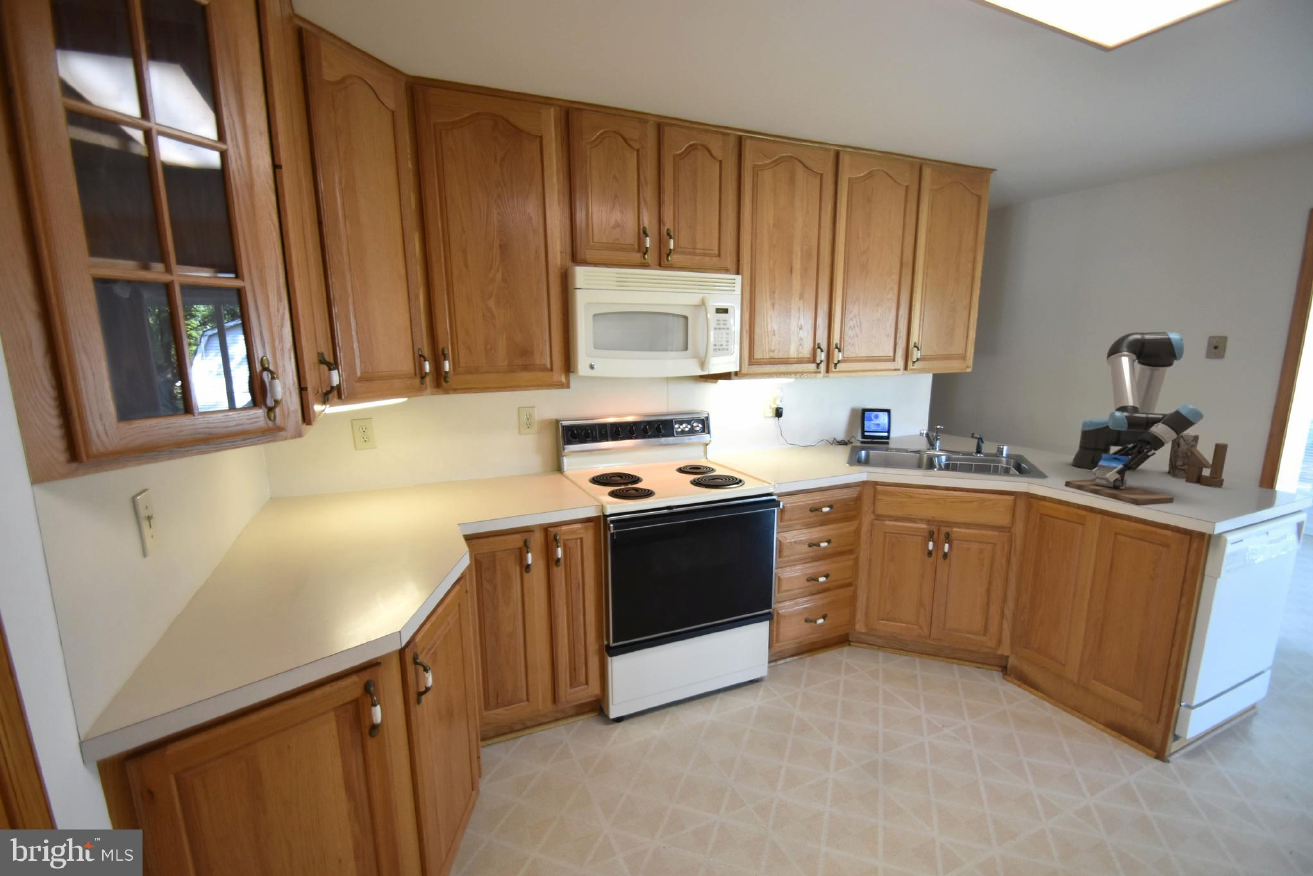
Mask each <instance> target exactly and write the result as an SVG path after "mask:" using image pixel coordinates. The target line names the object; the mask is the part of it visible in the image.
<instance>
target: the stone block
mask: <svg viewBox="0 0 1313 876" xmlns="http://www.w3.org/2000/svg"><path fill="white" fill-rule="evenodd" d="M1199 440H1200V434H1199V433H1196V432H1194V431H1191V430H1186V431H1185V432H1183V433H1182V434H1180V435H1179V436H1177V437H1176V438H1175V439H1173V440H1172V441H1171V445H1170V451H1169V458H1168V459H1169V461H1168V470H1167V474H1169V475H1171V476H1172V477H1173V478H1179V479H1185V480H1186V474H1187V469H1188V463H1189V457H1190V451H1191V449H1198V444H1199Z"/></svg>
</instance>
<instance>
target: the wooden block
mask: <svg viewBox="0 0 1313 876" xmlns="http://www.w3.org/2000/svg"><path fill="white" fill-rule="evenodd" d="M1228 447H1229V444H1228V443H1225V442H1215V444H1214V449H1213V453H1212V460H1211V463H1210V461H1209V460H1208V459H1207V457H1205V456H1204V455H1203V454H1202V453H1201V452H1200V450H1198V448H1196V449H1191V451H1190V457H1189V463H1188V469H1187V474H1186V479H1185V483H1191V484H1199V485H1201V486H1206V485H1207V486H1206V487H1211V486H1215V487H1214V488H1216V487H1218V488H1222V487H1221V486H1224V481H1225V478H1223V473H1224V469H1225V468H1224V467H1225V464H1226V463H1225V462H1226V457H1227V451H1228ZM1204 469H1210V472H1209V475H1205V474H1203V472H1204Z"/></svg>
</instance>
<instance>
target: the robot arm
mask: <svg viewBox="0 0 1313 876" xmlns="http://www.w3.org/2000/svg"><path fill="white" fill-rule="evenodd" d="M1184 348H1185V343H1184V338H1183V336H1182V334H1180V333H1178V332H1167V331H1164V332H1163V331H1161V332H1160V331H1158V332H1156V331H1155V332H1151V331H1150V332H1137V331H1135V332H1129V333H1126V334H1124V335H1122V336H1119V338H1117V339H1116V340H1115V341H1114V342H1113V343H1112V344H1111V345H1110V347H1109V349H1108V350H1107V353H1106V362H1107V365H1108V366H1109V367H1110V374H1111V376H1110V377H1111V383H1112V384H1111V386H1112V393H1113V395H1112V397H1113V405H1114V406H1113V407H1114V410H1113V411H1111V412H1110V413H1109V416H1108V417H1095V418H1087V419H1085V420H1083V422H1082V424H1081V428H1080V438H1079V444H1078V450H1077V451H1076V453H1075V455H1074V457H1073V459H1072V460H1071V462H1072V463H1071V465H1072V466H1073V465H1074V467H1077V468H1080V467H1081V468H1082V469H1087V470H1091V471H1092V472H1093V474H1094V475H1096V474H1097V468H1098V464H1099V462H1100V461H1101V460H1102V454H1109V455H1117V456H1126V457H1130V458H1129V459H1128V461H1127V462H1126V463H1125V464H1122V465H1123V466H1124V467H1123V466H1122V465H1121V466H1119V467H1118V468H1116V469H1115V470H1113V471H1112V472H1111V473H1109V474H1108V475H1106V477H1107V478H1108V479H1109V480H1110V481H1111V482H1112V481H1113V480H1115V479H1116V478H1118V477H1119V476H1120V475H1122V474H1123V473H1125V472H1126V471H1128V472H1129V471H1132V472H1133V471H1136V470H1137V469H1138V468H1139V467H1141V466H1142V465H1143V464H1144V463H1145V462H1147V461H1148V460H1149V459H1150V458H1151V457H1153V456H1154V455H1157V454H1156V452H1157V451H1159V450H1160V449H1162V448H1163V447H1165V445H1167V444H1168V445H1169V443H1172V440H1173V439H1175V438H1176V437H1177V436H1179V435H1180V434H1182V433H1183V432H1185V431H1189V430H1190V429H1191V428H1192V427H1193V426H1195V425H1198V423H1199V422H1200V421H1202V420H1203V419H1204V417H1205V416H1204V414H1203V412H1202V411H1201V410H1200V409H1198V408H1197V407H1195V406H1193V405H1191V404H1182V405H1181V406H1180V407H1178V408H1177V409H1176V410H1174V411H1172V412H1169V413H1159V412H1157V413H1156V412H1155V411H1156V408H1157V405H1158V401H1159V397H1160V393H1161V391H1162V387H1163V384H1164V380H1165V377H1166V374H1167V371H1168V369H1169V368H1171V367H1173V366H1174V364H1175V362H1177V361H1180V360H1182V358H1183V355H1184V352H1185V349H1184ZM1135 363H1137V364H1138V365H1139V366H1140V369H1139V371H1138V375H1137V378H1136V372H1135V370H1136V369H1135ZM1112 447H1115V448H1118V449H1116V450H1115V451H1113V452H1112V453H1111V448H1112ZM1111 459H1114V460H1120V459H1118V458H1116V457H1115V458H1111Z"/></svg>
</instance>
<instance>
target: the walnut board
mask: <svg viewBox="0 0 1313 876" xmlns="http://www.w3.org/2000/svg"><path fill="white" fill-rule="evenodd" d="M1064 481H1065V482H1064V486H1065V487H1069V488H1073V489H1076V490H1080V491H1083V492H1089V493H1091V494H1095V495H1098V496H1102V497H1106V498H1110V499H1114V500H1118V501H1120V502H1121V501H1122V502H1126V503H1128V504H1133V505H1136V506H1142V505H1143V506H1146V505H1147V506H1148V505H1159V504H1171V503H1172V504H1173V503H1174V499H1175V497H1174V496H1170V495H1166V494H1162V493H1157V492H1153V491H1148V490H1145V489H1141V488H1137V487H1133V486H1132V487H1131V486H1127V485H1126V488H1124V489H1121V488H1114V487H1108V486H1102V485H1095V481H1096V478H1092V479H1091V478H1089V479H1076V480H1075V479H1073V480H1064Z"/></svg>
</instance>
